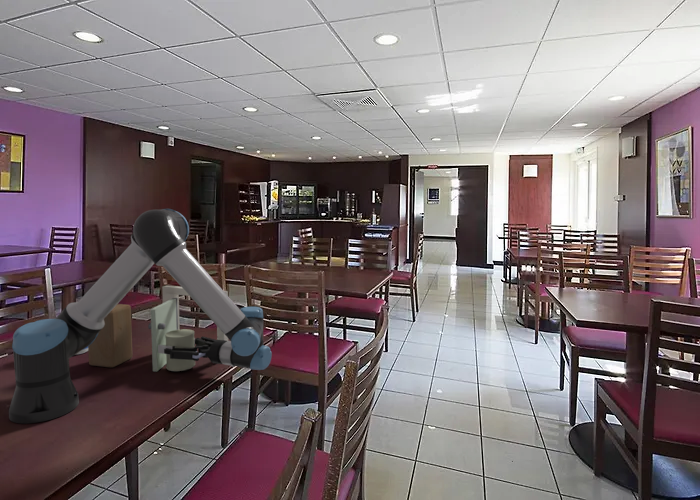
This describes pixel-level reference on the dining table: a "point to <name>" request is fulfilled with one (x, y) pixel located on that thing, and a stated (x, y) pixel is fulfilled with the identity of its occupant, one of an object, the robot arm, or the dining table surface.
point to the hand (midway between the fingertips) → (169, 344)
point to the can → (179, 340)
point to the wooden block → (113, 339)
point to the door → (162, 328)
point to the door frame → (174, 292)
